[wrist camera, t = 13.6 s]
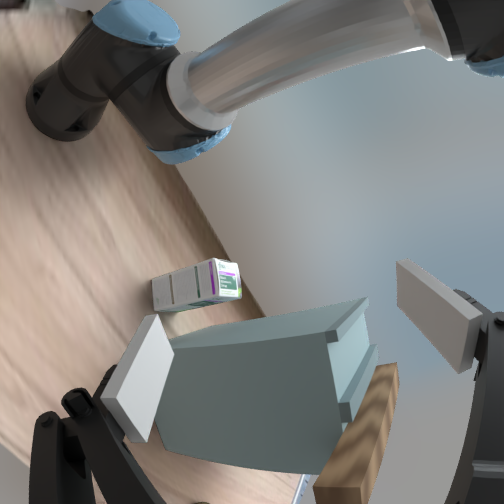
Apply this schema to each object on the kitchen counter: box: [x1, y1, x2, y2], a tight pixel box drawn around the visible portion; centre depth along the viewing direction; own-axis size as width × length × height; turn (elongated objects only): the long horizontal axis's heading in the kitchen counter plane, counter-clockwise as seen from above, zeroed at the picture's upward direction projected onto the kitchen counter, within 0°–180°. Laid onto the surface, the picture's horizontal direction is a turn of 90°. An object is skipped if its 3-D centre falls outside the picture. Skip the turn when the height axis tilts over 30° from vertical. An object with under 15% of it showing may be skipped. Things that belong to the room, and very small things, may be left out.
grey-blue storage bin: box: [154, 297, 379, 475], centre depth 42 cm, size 18×20×31 cm
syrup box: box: [152, 258, 242, 312], centre depth 47 cm, size 6×6×14 cm
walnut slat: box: [313, 362, 399, 504], centre depth 29 cm, size 29×4×4 cm, turn 116°
